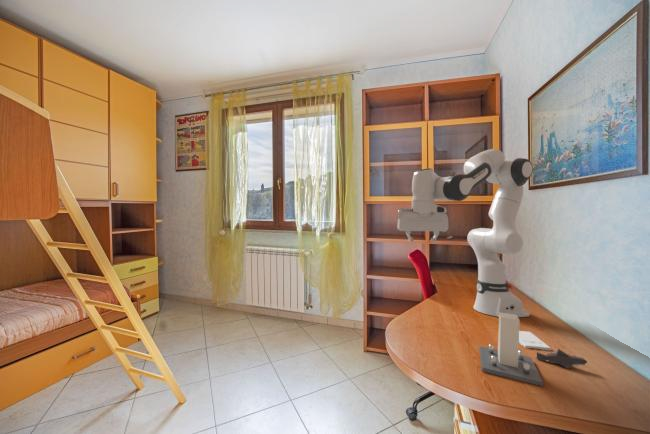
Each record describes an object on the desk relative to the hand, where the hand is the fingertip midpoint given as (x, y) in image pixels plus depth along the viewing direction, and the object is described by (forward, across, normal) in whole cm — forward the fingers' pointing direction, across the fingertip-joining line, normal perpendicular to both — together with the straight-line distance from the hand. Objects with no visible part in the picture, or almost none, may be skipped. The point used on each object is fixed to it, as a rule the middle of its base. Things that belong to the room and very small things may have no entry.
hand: (422, 242), depth 109 cm
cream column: (+33, +15, -30) cm, 47 cm away
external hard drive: (+35, +34, -14) cm, 51 cm away
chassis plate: (+34, +15, -30) cm, 48 cm away
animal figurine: (+34, +32, -29) cm, 55 cm away
